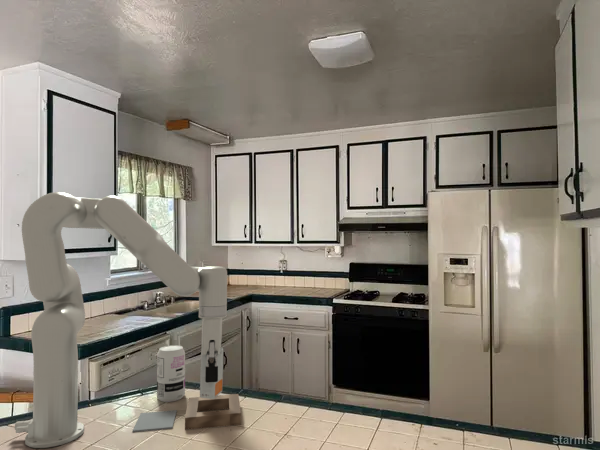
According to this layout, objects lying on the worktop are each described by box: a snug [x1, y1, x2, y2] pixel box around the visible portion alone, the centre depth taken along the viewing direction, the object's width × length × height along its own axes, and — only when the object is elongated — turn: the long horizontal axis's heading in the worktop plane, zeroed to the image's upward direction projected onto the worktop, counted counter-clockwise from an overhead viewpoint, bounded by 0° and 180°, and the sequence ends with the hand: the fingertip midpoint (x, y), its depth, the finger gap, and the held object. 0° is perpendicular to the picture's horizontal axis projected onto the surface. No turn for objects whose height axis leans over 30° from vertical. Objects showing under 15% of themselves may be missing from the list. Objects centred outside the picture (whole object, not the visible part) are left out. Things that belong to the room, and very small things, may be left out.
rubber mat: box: [132, 409, 178, 433], centre depth 111 cm, size 10×11×1 cm
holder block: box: [184, 393, 242, 431], centre depth 114 cm, size 14×14×3 cm
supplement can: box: [156, 344, 186, 403], centre depth 129 cm, size 8×8×15 cm
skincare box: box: [199, 347, 224, 399], centre depth 114 cm, size 6×4×12 cm
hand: (211, 376), depth 114 cm, fingers closed on skincare box, 7 cm apart
